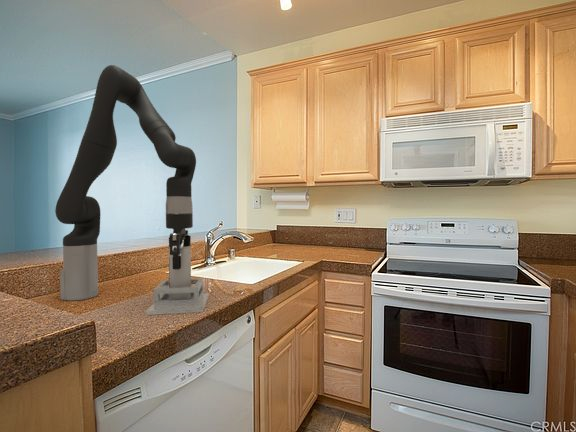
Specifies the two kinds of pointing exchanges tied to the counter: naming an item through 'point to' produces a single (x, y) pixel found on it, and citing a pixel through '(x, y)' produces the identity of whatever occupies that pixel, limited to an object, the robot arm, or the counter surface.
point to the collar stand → (178, 305)
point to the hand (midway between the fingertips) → (179, 266)
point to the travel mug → (181, 271)
